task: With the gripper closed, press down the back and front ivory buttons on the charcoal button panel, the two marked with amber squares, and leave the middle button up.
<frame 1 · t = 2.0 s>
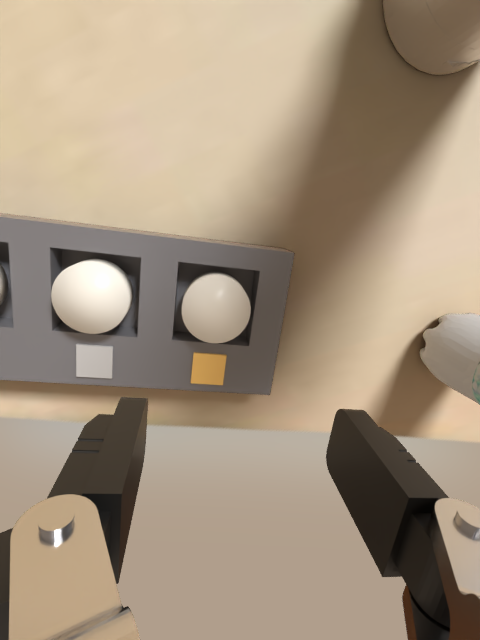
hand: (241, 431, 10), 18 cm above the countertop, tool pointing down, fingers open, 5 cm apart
button middle: (94, 295, 23), point 3 cm above the countertop, slide at 0.0 cm
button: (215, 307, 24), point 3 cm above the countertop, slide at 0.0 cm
panel: (106, 301, 26), on the countertop
bottle: (443, 340, 31), on the countertop
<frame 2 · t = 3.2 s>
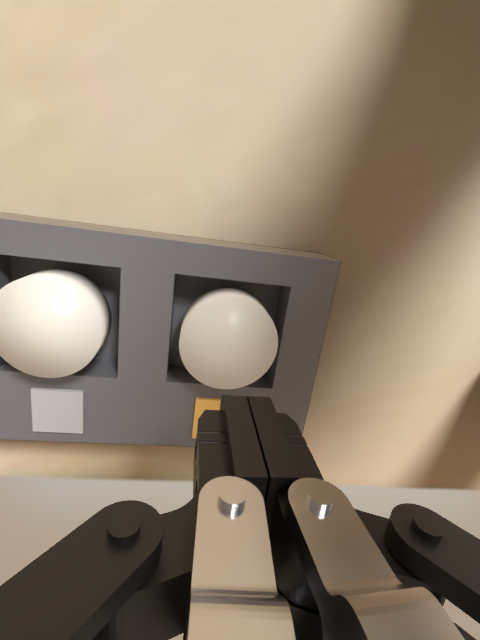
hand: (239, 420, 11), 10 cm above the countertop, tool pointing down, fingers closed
button middle: (54, 322, 16), point 3 cm above the countertop, slide at 0.0 cm
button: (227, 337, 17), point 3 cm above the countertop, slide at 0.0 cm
panel: (78, 323, 19), on the countertop
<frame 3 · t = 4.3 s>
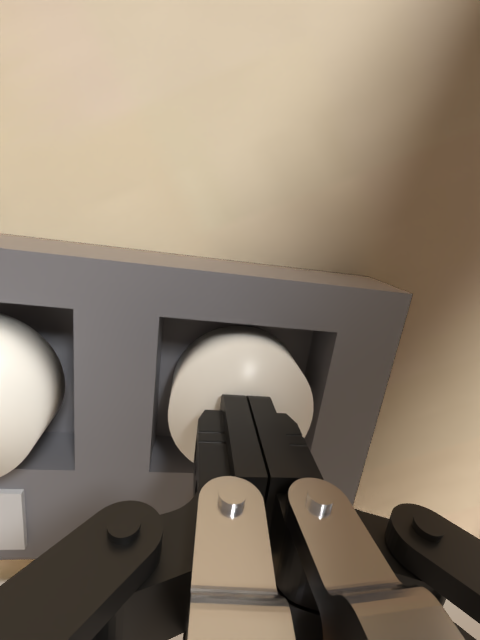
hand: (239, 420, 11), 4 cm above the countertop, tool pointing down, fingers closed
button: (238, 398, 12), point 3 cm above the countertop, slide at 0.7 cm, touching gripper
panel: (24, 379, 13), on the countertop
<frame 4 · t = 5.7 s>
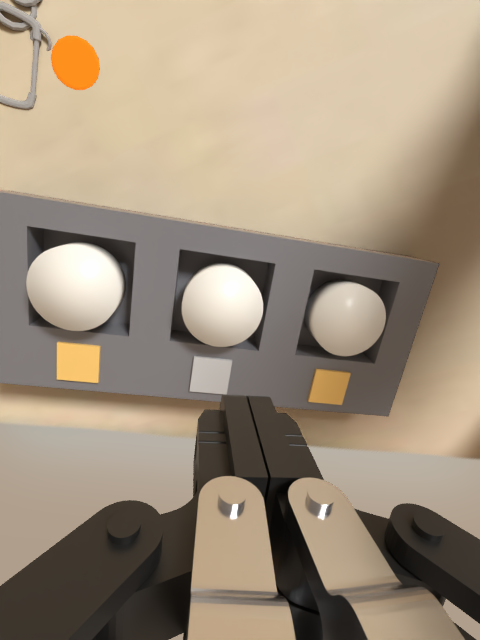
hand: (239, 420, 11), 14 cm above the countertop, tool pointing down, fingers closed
button middle: (221, 304, 20), point 3 cm above the countertop, slide at 0.0 cm
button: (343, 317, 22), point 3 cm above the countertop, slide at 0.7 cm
panel: (216, 308, 24), on the countertop
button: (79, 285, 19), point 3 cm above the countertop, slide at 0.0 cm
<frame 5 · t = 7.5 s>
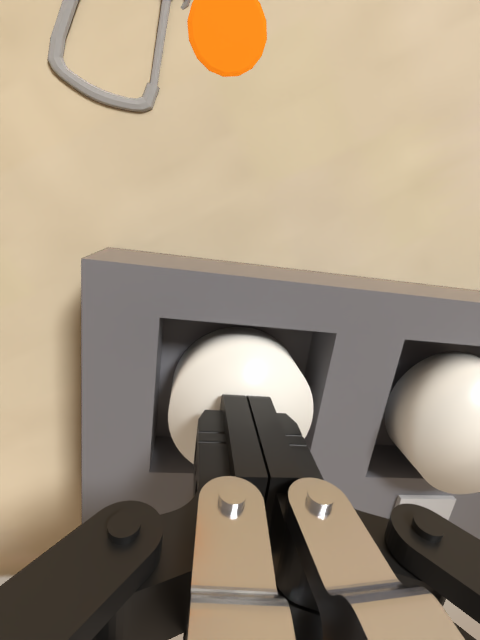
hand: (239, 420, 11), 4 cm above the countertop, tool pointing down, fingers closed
button middle: (459, 421, 12), point 3 cm above the countertop, slide at 0.0 cm
panel: (399, 402, 16), on the countertop
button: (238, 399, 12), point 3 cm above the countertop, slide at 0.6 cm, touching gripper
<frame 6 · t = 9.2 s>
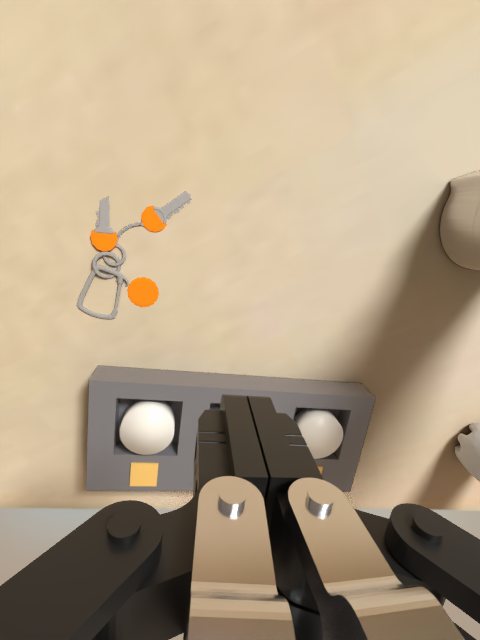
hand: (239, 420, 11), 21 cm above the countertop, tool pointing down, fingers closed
key chain: (130, 251, 29), on the countertop
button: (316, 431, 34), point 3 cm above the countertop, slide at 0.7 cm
panel: (231, 424, 35), on the countertop
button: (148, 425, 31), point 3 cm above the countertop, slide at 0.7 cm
bottle: (471, 439, 41), on the countertop
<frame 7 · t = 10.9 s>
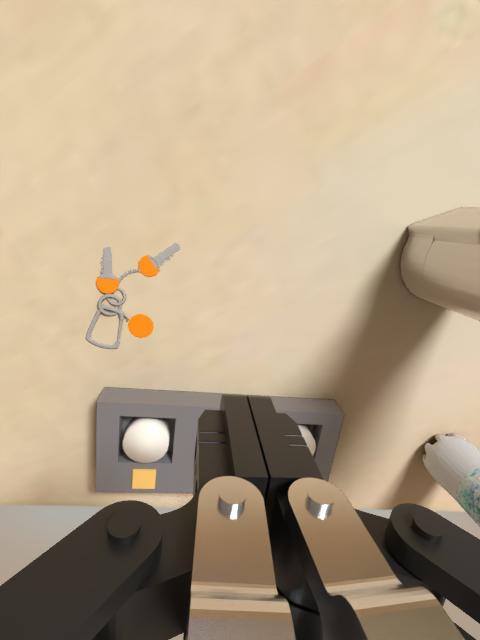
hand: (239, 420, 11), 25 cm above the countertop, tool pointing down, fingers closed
key chain: (130, 292, 35), on the countertop
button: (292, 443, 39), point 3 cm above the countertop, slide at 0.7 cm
panel: (219, 435, 40), on the countertop
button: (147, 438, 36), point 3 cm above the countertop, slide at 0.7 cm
bottle: (438, 447, 45), on the countertop
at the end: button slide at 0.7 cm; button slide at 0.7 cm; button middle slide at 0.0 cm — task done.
